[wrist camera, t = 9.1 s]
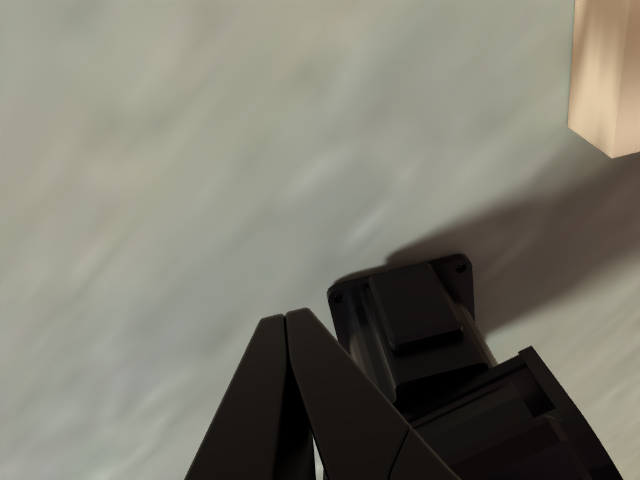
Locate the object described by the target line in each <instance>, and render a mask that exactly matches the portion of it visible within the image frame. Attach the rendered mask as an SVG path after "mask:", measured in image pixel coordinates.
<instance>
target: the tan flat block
mask: <svg viewBox="0 0 640 480" xmlns="http://www.w3.org/2000/svg"><path fill="white" fill-rule="evenodd" d="M568 127H569V128H570V129H571V130H573V131H574V132H576V133H577V134H578V135H580V136H581V137H583V138H584V139H585V140H587V141H588V142H590V143H591V144H592V145H594V146H595V147H597V148H598V149H599V150H601V151H602V152H604V153H605V154H606V155H608V156H609V157H611V158H615V157H619V156H624V155H628V154H632V153H636V152H640V0H576V1H575V17H574V33H573V49H572V65H571V81H570V97H569V113H568Z"/></svg>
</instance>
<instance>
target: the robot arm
mask: <svg viewBox="0 0 640 480" xmlns="http://www.w3.org/2000/svg"><path fill="white" fill-rule="evenodd" d="M459 264H463V265H462V266H461V267H459V268H456V267H457V266H458V265H459ZM338 294H342V296H341V297H337V298H336V297H335V296H336V295H338ZM327 299H328V303H329V307H330V311H331V315H332V319H333V323H334V327H335V331H336V335H337V339H338V341H337V340H336V339H335V338H334V337H333V335H332V334H331V333H330V332H329V331H328V330H327V328H326V327H325V326H324V325H323V324H322V323H321V321H320V320H319V319H318V318H317V317H316V316H315V315H314V313H313V312H312V311H311V310H310V309H309V308H301V309H297V310H293V311H289V312H287V313H286V315H285V316H284V315H283V314H277V315H273V316H269V317H265V318H262V319H261V320H260V321H259V323H258V325H257V327H256V329H255V332H254V334H253V336H252V338H251V340H250V342H249V344H248V346H247V348H246V350H245V353H244V355H243V357H242V359H241V361H240V363H239V365H238V367H237V369H236V371H235V374H234V376H233V378H232V380H231V382H230V384H229V386H228V388H227V390H226V393H225V395H224V397H223V399H222V401H221V403H220V405H219V407H218V409H217V411H216V414H215V416H214V418H213V420H212V422H211V424H210V426H209V428H208V430H207V432H206V435H205V437H204V439H203V441H202V443H201V445H200V447H199V449H198V451H197V453H196V456H195V458H194V460H193V462H192V464H191V466H190V468H189V470H188V472H187V475H186V477H185V479H184V480H316V473H315V457H314V445H313V438H314V441H315V444H316V447H317V450H318V453H319V456H320V459H321V462H322V465H323V468H324V470H323V480H623V478H622V477H621V475H620V473H619V471H618V470H617V468H616V466H615V465H614V463H613V461H612V460H611V458H610V456H609V455H608V453H607V452H606V450H605V448H604V447H603V445H602V444H601V442H600V440H599V439H598V437H597V436H596V434H595V433H594V431H593V430H592V428H591V427H590V425H589V424H588V422H587V421H586V419H585V418H584V416H583V415H582V413H581V412H580V411H579V409H578V408H577V406H576V405H575V404H574V402H573V401H572V400H571V398H570V397H569V396H568V394H567V393H566V392H565V390H564V389H563V387H562V386H561V385H560V383H559V382H558V381H557V379H556V378H555V377H554V375H553V374H552V373H551V371H550V370H549V369H548V367H547V366H546V365H545V363H544V362H543V360H542V359H541V358H540V356H539V355H538V354H537V352H536V351H535V350H534V348H533V347H532V346H529V347H527V348H525V349H523V350H521V351H519V352H518V353H519V355H517V356H515V357H513V358H511V359H509V360H507V361H505V362H503V363H501V364H498V363H497V361H496V359H495V358H494V356H493V354H492V352H491V351H490V349H489V347H488V345H487V343H486V342H485V340H484V338H483V336H482V335H481V333H480V331H479V329H478V328H477V326H476V324H475V315H474V295H473V275H472V264H471V262H470V260H469V259H468V257H467V256H466V255H463V254H456V255H452V256H448V257H444V258H440V259H436V260H432V261H428V262H424V263H420V264H416V265H412V266H408V267H404V268H400V269H396V270H392V271H388V272H384V273H380V274H376V275H372V276H368V277H364V278H360V279H356V280H352V281H348V282H344V283H340V284H336V285H333V286H331V287H330V288H329V289H328V291H327ZM312 435H313V436H312Z"/></svg>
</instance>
